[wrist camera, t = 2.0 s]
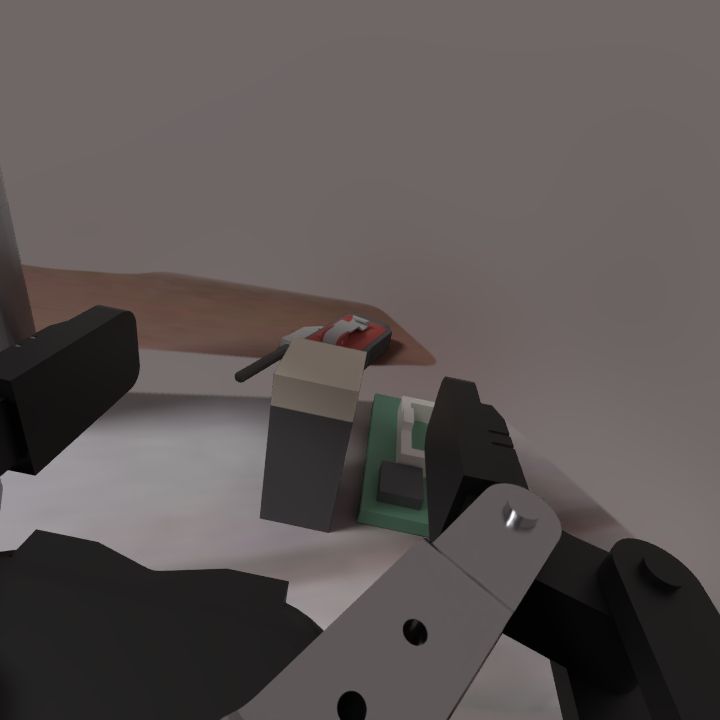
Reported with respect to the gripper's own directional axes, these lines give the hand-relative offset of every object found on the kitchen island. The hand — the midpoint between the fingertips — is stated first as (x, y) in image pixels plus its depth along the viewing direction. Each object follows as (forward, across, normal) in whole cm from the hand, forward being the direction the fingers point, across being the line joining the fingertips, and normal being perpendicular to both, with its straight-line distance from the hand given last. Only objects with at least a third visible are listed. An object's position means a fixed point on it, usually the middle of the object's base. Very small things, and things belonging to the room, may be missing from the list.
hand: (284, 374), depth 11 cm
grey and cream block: (+11, 0, +17) cm, 20 cm away
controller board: (+17, -9, +17) cm, 26 cm away
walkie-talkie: (+31, +2, +17) cm, 35 cm away
